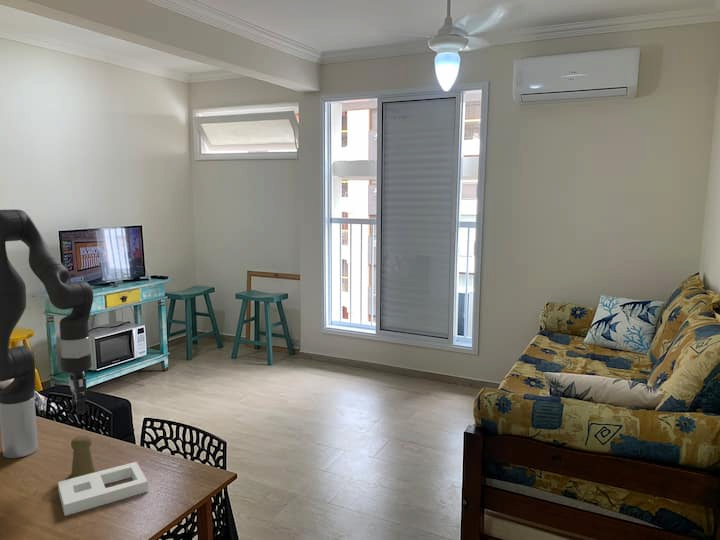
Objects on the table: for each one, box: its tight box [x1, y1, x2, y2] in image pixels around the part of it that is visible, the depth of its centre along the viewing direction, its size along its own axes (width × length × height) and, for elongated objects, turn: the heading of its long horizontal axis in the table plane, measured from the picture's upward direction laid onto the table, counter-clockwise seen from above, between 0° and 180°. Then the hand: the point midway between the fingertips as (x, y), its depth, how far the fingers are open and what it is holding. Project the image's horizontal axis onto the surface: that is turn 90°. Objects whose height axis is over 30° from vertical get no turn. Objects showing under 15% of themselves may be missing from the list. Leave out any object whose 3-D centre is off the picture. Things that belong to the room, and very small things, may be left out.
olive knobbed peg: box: [70, 434, 96, 478], centre depth 153 cm, size 6×6×11 cm
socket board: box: [57, 461, 149, 516], centre depth 144 cm, size 13×20×3 cm, turn 125°
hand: (79, 408), depth 151 cm, fingers open, 8 cm apart
